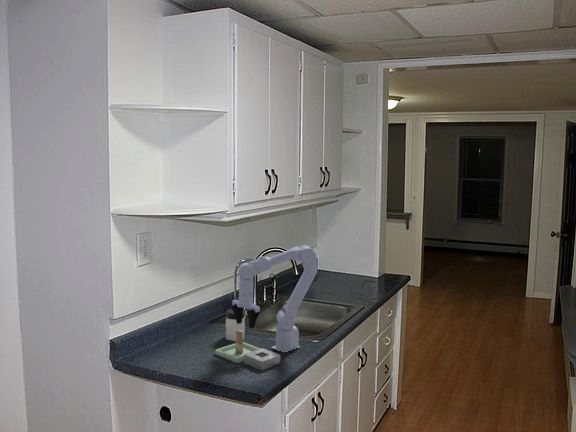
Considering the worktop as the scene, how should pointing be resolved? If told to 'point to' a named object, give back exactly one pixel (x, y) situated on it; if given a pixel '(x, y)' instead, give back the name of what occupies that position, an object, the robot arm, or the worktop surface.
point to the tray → (230, 354)
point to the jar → (233, 325)
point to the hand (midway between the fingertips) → (245, 325)
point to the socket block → (261, 359)
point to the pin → (239, 342)
